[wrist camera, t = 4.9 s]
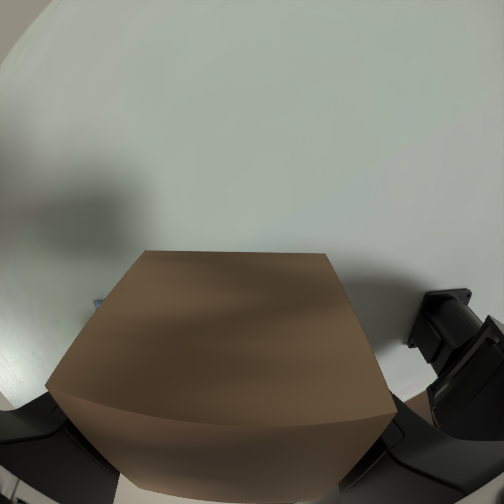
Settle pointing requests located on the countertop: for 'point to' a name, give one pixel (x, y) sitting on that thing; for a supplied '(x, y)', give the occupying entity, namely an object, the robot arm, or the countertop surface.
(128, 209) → the countertop surface
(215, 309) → the walnut cube
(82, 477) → the robot arm
